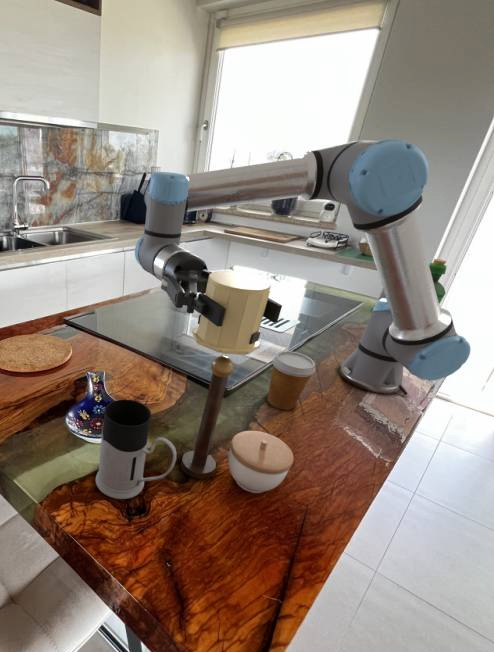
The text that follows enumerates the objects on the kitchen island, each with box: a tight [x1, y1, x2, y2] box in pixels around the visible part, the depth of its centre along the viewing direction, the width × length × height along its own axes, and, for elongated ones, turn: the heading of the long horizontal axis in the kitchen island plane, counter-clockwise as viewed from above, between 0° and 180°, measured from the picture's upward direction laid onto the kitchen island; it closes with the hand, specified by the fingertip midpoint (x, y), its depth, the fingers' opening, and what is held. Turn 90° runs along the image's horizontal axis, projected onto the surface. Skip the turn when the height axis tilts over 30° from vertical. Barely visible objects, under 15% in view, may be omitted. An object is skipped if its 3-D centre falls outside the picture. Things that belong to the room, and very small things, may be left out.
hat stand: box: [180, 355, 235, 480], centre depth 73 cm, size 6×6×24 cm
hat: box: [191, 270, 272, 356], centre depth 65 cm, size 10×10×10 cm
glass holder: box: [95, 399, 178, 500], centre depth 69 cm, size 9×14×15 cm, turn 50°
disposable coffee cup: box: [266, 350, 316, 411], centre depth 98 cm, size 10×10×12 cm
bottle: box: [428, 258, 448, 305], centre depth 134 cm, size 11×11×28 cm
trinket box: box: [227, 430, 294, 494], centre depth 74 cm, size 11×11×9 cm
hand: (250, 315), depth 61 cm, fingers closed on hat, 9 cm apart
